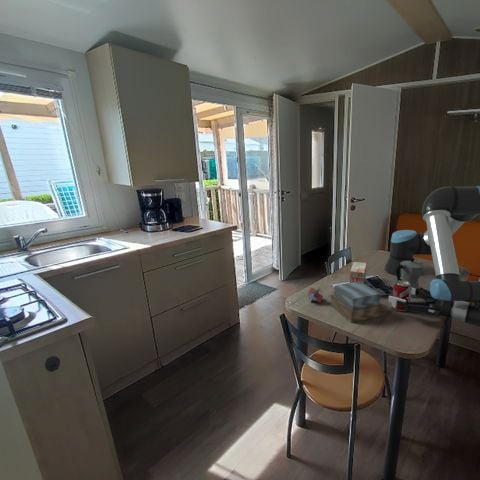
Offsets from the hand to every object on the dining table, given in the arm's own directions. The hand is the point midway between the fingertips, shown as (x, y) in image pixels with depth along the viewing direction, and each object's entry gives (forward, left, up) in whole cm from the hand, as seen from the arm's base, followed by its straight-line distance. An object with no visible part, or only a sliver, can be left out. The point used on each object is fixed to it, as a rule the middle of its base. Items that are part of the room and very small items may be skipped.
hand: (394, 292), depth 126 cm
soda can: (-2, +3, -7) cm, 7 cm away
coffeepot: (-15, -7, -7) cm, 18 cm away
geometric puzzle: (+29, -15, -7) cm, 34 cm away
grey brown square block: (+17, -2, -6) cm, 19 cm away
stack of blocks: (+1, -23, -7) cm, 24 cm away
